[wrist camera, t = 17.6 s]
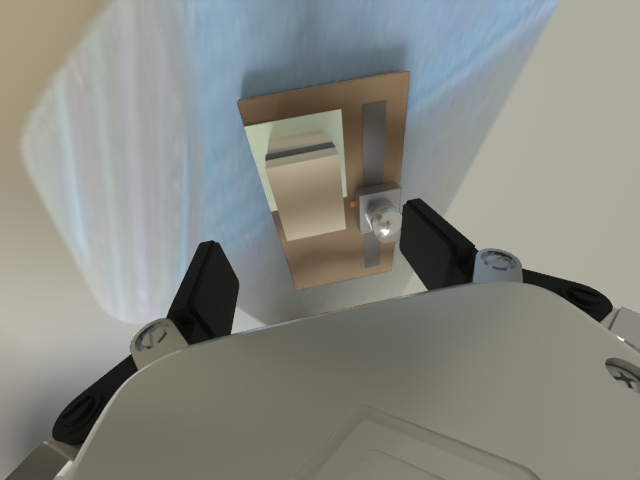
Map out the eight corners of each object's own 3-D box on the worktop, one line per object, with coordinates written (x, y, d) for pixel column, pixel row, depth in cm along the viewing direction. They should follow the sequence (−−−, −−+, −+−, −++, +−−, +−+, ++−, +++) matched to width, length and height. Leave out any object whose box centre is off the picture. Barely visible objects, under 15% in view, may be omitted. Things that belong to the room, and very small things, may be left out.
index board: (387, 262, 29) (391, 271, 28) (295, 281, 29) (296, 291, 28) (400, 70, 17) (410, 71, 15) (239, 99, 16) (236, 102, 15)
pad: (346, 195, 21) (347, 196, 21) (270, 210, 20) (270, 211, 20) (340, 108, 16) (341, 109, 16) (244, 126, 16) (244, 127, 16)
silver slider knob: (391, 218, 23) (410, 244, 19) (356, 225, 22) (369, 252, 19) (394, 181, 20) (416, 203, 17) (354, 189, 20) (369, 213, 17)
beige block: (330, 190, 20) (346, 229, 15) (284, 199, 20) (286, 241, 15) (322, 128, 17) (340, 153, 12) (267, 138, 17) (263, 168, 12)
